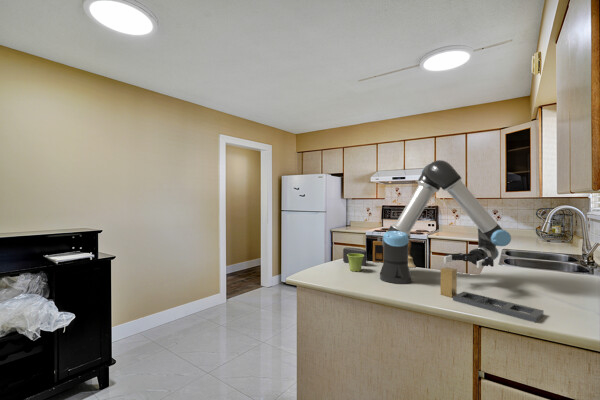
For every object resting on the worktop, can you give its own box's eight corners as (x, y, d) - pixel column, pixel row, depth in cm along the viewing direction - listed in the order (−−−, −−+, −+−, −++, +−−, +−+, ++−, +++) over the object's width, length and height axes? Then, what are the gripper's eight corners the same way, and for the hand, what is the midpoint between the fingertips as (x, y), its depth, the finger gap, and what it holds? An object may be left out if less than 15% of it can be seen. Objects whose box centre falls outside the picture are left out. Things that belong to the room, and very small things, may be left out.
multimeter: (389, 259, 191) (389, 229, 191) (390, 263, 181) (391, 231, 181) (366, 258, 194) (366, 228, 194) (366, 261, 184) (367, 230, 184)
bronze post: (440, 294, 121) (440, 268, 121) (445, 292, 124) (445, 267, 124) (451, 297, 118) (451, 270, 118) (456, 295, 121) (456, 269, 121)
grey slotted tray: (453, 300, 115) (453, 296, 115) (463, 295, 121) (463, 291, 121) (535, 322, 94) (535, 317, 94) (543, 315, 101) (543, 310, 101)
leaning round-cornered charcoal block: (369, 265, 174) (369, 249, 174) (365, 266, 171) (365, 250, 171) (346, 261, 186) (346, 246, 185) (342, 262, 182) (342, 247, 182)
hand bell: (409, 264, 178) (409, 238, 178) (418, 267, 171) (419, 240, 171) (398, 265, 176) (398, 238, 176) (407, 268, 168) (407, 240, 168)
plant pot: (367, 270, 161) (367, 255, 161) (357, 273, 155) (357, 257, 155) (353, 267, 168) (353, 252, 168) (343, 270, 162) (343, 254, 161)
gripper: (510, 268, 130) (493, 276, 117) (452, 259, 150) (432, 266, 137) (510, 251, 130) (493, 258, 117) (452, 245, 150) (432, 250, 137)
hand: (460, 262), depth 127 cm, fingers open, 13 cm apart
